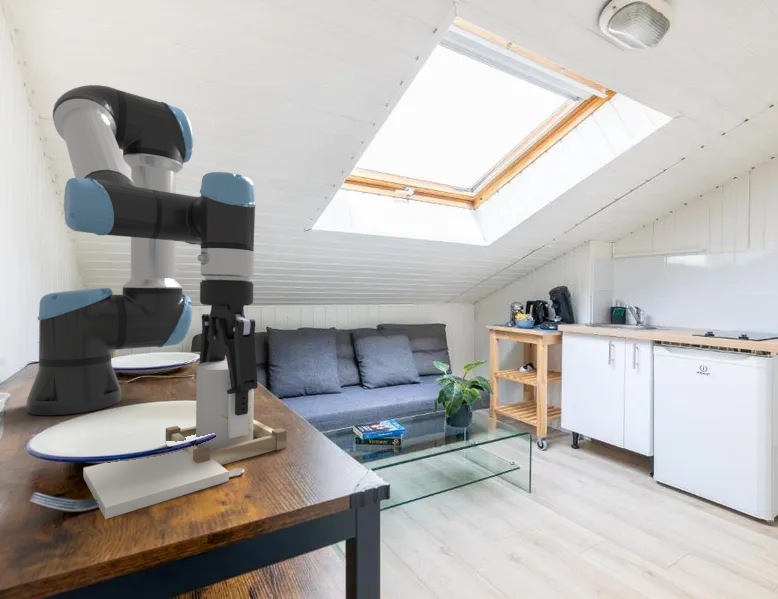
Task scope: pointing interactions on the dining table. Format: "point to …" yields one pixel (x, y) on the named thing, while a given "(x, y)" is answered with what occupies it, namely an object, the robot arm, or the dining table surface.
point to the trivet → (149, 481)
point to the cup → (217, 406)
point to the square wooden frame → (224, 455)
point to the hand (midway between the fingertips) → (225, 427)
